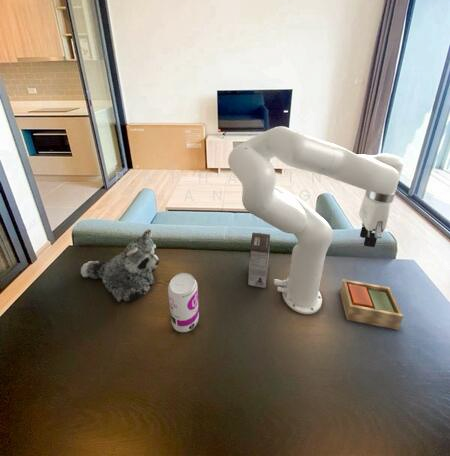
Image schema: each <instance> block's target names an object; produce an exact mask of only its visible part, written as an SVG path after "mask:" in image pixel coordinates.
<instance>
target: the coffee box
mask: <svg viewBox="0 0 450 456" xmlns="http://www.w3.org/2000/svg"><path fill="white" fill-rule="evenodd" d="M270 244H271V234H270V233H262V232H252V233H251V240H250V247H249V261H248V280H247V285H248V286H252V287H257V288H264V289H265V288H266V287H267V280H268V279H267V278H268V269H269V257H270V246H271V245H270Z"/></svg>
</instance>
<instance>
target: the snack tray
mask: <svg viewBox="0 0 450 456" xmlns="http://www.w3.org/2000/svg"><path fill="white" fill-rule="evenodd" d="M339 294H340V297H341V301H342V306H343V310H344V314H345V317H346V320H347V321H353V322H358V323H363V324H368V325H372V326H378V327H382V328H387V329H393V330H399V329H400V327H401V324H402V321H403V318H404V315H403V313H402V311H401V309H400V307H399V304H398V303H397V300H396V298H395V296H394V294H393V292H392V290H391V287H390V286H384V285H379V284H372V283H368V282H362V281H356V280H349V279H342V281H341V286H340V290H339Z"/></svg>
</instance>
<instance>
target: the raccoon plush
mask: <svg viewBox="0 0 450 456" xmlns="http://www.w3.org/2000/svg"><path fill="white" fill-rule="evenodd" d="M152 231H153V229H151V228H148V229H146V230H145V231H144V232H143V234H142V235H141V236H140V235H138V236H137V237H135V239H134V240H133V241H130V242H129V243H128V244H127V245H126V248H125V249H124V250H123V251H122V252H120V253H119V254H117V255H115V256H113V258H110V260H109V261H98V260H96V261H93V260H89V261H87V262H86V263H85V262H84V264H83V265H82V266H81V267H80V275H81V276H82V278H88V277H89V278H90V279H95V280H96V279H101V280H102V283H103V284H104V287H105V288H106V289H107V290H108V292H110V293H111V294H112V296H113V298H114V299H115V300H116V301H117V302H118V303H119V302H121V301H122V300H123V301H125V302H127V301H129V302H131V301H135V300H138V299H139V298H140V297H142V295H146V294H147V293H148V292H149V291H150V289H151V287H150V286H152V285H154V284H155V278H154V275H153V273H154V272H155V270H156V268H157V267H158V266H159V264H160V259H159V257H158V256H157V254H156V253H157V249H156V248H157V246H156V244H155V243H154V241H153V239H152V238H151V237H152V236H153V232H152Z"/></svg>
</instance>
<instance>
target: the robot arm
mask: <svg viewBox="0 0 450 456" xmlns="http://www.w3.org/2000/svg"><path fill="white" fill-rule="evenodd" d="M273 158H275V159H277V160H279V161H280V162H282V163H283V164H284V165H286V166H289V167H291V168H294V169H299V170H303V171H306V172H310V173H315V174H318V175H322V176H325V177H328V178H331V179H333V180H335V181H339V182H342V183H344V184H347V185H350V186H352V187H355V188H358V189H362V190H365V192H364V196H363V198H362V202H361V205H360V209H359V212H358V214H359V218H360V220H361V229H360V233H359V237H360V238H362V239H364V241H363V246H364V247H368V248H375V247H376V244H377V240H378V239H382V233H384V232H385V230H386V228H387V224H388V220H389V217H390V216H389V215H390V209H391V205H392V203H393V202H394V198H395V195H396V192H397V189H398V184H399V182H400V178H401V175H402V171H403V167H404V161H403V158H401V157H399V156H397V155H395V154H390V153H378V154H375V155H374V154H373V155H372V154H356V153H355V152H353V151H351V150H349V149H347V148H345V147H342V146H340V145H337V144H335V143H332V142H328V141H324V140H321V139H319V138H316V137H313V136H309V135H306V134H303V133H300V132H298V131H296V130H293V129H291V128H289V127H287V126H284V125H283V126H282V125H280V126H275V127H272V128H270V129H267V130H265V131H263V132H261V133H259V134H257V135H256V136H253V137H251V138H249V139H247V140H245V141H243V142H241V143H239V144H238V145H236V146H235V147H233V149H232V150H231V151H230V152H229V155H228V159H227V163H228V167H229V169H230V170H231V172H232V173H233V174H234V176H235V177H236V178H237V180H238V181H239V183H241V187H242V193H241V194H242V195H241V201H242V205H243V207H244V209H245V210H246V211H247V212H248V213H249V214H251V215H253V216H255V217H256V218H258V219H260V220H262V221H264V222H265V223H267V224H269V225H270V226H272V227H274V228H276V229H277V230H279V231H281V232H283V233H285V234H291V235H293V236H294V237H296V239H297V242H298V243H297V244H295V245H294V246H293V248H292V250H291V251H292V252H291V259H290V267H289V273H288V274H289V275H288V276H287V277H286V279H283V280H282V279H281V280H280V279H278V278H274V280H273V285H274V286H276V287H277V292H278V293H279V292H280V293H282V298H283V301H284V302H285V303H286V305H287V306H288V307H289V308H290V309H292V310H293V311H295V312H297V313H299V314H303V315H313V314H316V313H317V312H318V311H319V310H320V309H321V307H322V305H323V298H322V294H321V291H320V285H321V280H322V276H323V270H324V266H325V261H326V256H327V252H328V250H329V248H330V246H331V244H332V242H333V239H334V231H333V229H332V226H331V225H330V224H329V223H328V222H327V220H326V219H325V218H323V217H322V216H321V215H320V214H319V213H318V212H317V211H315V210H314V209H313V208H311V206H309V205H308V204H307V203H306V202H305V201H303V200H302V199H300V198H299V197H297V196H296V195H294V194H293V193H291V192H289V191H288V190H286V189H285V188H283V187H282V186H278V185H276V183H277V175H276V170H275V168H274V166H273V164H272V163H271V161H270V160H271V159H273Z"/></svg>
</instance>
